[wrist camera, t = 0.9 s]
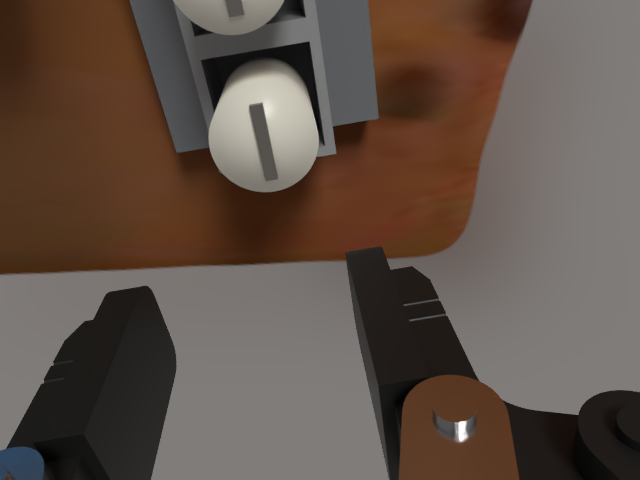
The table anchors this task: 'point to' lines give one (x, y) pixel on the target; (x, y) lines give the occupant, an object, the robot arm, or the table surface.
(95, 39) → the table surface
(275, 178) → the knob
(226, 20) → the knob mid
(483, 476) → the robot arm
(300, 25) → the grey compartment box
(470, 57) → the table surface
